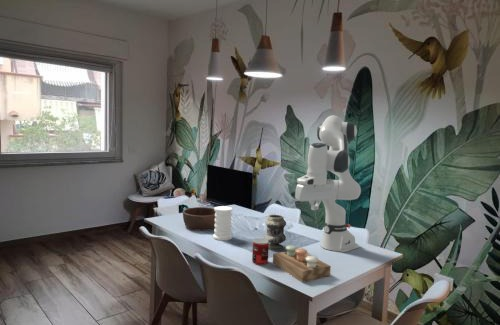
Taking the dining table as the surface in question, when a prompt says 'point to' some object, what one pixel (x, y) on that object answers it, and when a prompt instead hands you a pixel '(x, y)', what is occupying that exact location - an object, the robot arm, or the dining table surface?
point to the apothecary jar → (275, 231)
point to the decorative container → (222, 223)
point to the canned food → (260, 251)
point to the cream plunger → (311, 261)
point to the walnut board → (301, 267)
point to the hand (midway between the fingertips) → (314, 209)
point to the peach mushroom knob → (301, 254)
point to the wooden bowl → (199, 218)
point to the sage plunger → (291, 250)
